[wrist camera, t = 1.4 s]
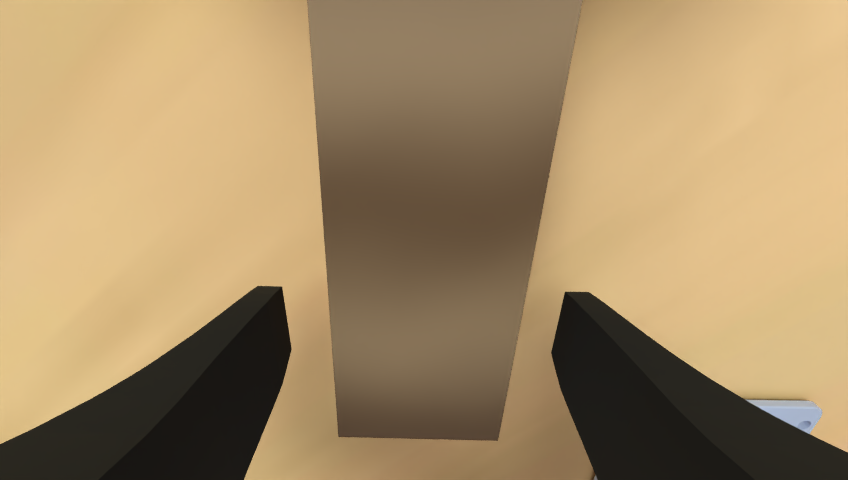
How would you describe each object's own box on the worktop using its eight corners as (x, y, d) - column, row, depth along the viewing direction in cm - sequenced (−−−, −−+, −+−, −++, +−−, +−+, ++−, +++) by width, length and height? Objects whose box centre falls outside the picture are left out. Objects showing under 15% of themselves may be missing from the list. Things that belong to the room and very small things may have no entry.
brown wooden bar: (478, 337, 16) (497, 440, 12) (359, 333, 16) (338, 437, 12) (545, -153, 9) (636, -281, 5) (343, -166, 9) (285, -308, 5)
